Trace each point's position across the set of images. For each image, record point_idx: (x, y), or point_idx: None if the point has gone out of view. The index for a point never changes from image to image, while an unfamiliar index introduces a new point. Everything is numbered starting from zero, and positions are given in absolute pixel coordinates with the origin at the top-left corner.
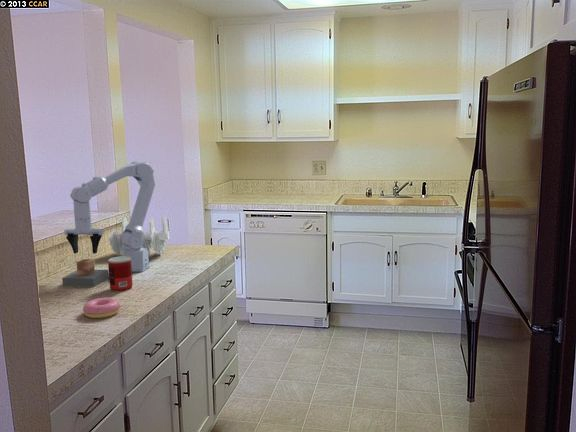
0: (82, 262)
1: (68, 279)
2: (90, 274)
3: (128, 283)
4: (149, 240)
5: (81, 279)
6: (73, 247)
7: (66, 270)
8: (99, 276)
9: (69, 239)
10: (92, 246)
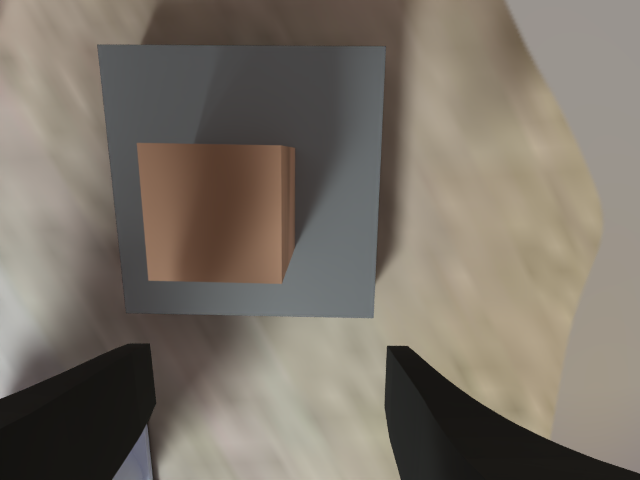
0: (206, 145)
1: (327, 49)
2: None
3: None
4: None
5: (208, 47)
6: (420, 379)
7: (528, 428)
8: (116, 161)
9: (544, 464)
10: (72, 386)
